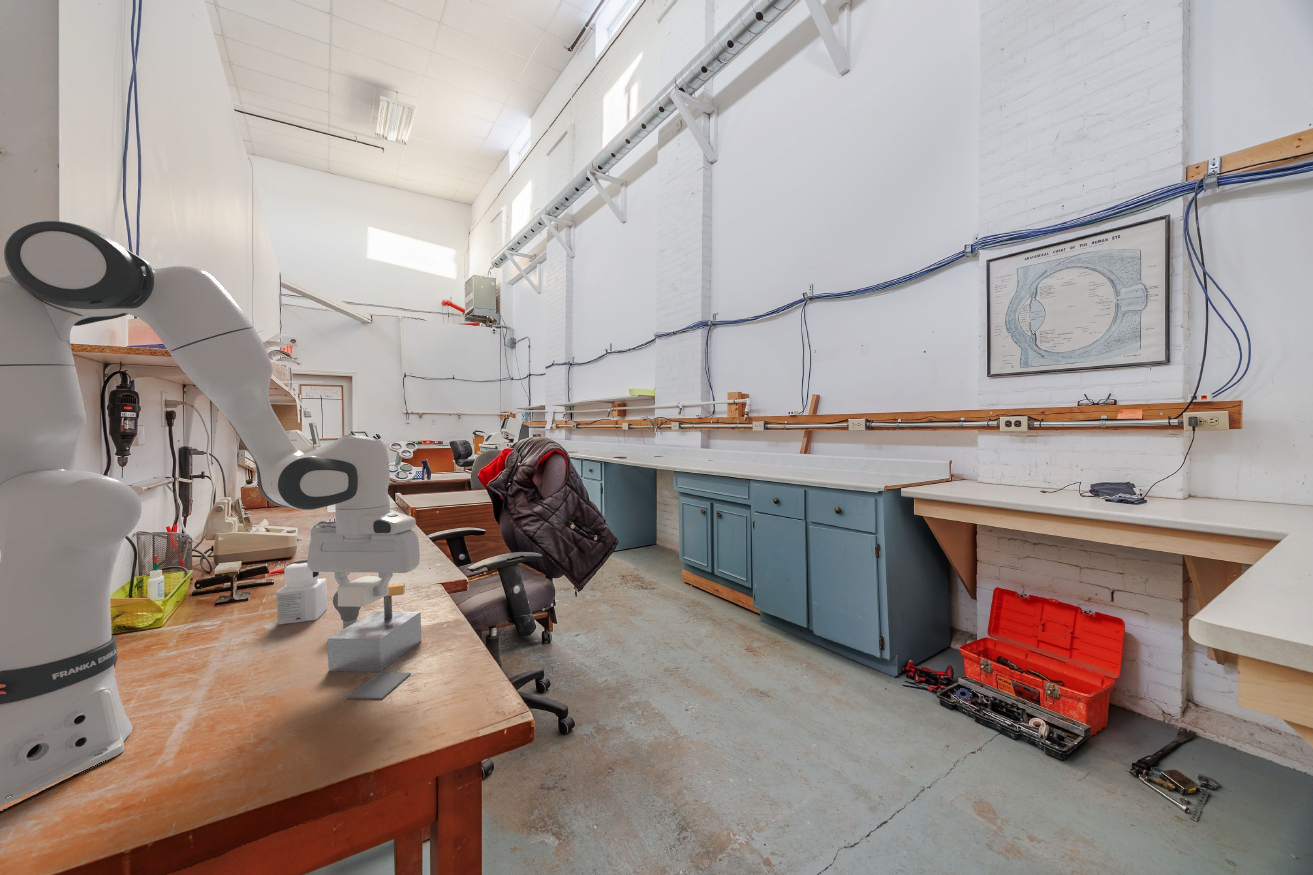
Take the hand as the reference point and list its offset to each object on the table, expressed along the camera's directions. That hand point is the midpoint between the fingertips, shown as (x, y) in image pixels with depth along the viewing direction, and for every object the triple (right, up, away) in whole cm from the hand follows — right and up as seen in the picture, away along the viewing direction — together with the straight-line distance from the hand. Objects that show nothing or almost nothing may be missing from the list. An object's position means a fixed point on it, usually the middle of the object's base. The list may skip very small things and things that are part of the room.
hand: (364, 595), depth 91 cm
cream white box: (0, -1, 0) cm, 1 cm away
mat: (+8, -13, -8) cm, 17 cm away
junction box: (+1, -13, +3) cm, 13 cm away
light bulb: (-12, -13, +15) cm, 23 cm away
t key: (+1, -7, +7) cm, 9 cm away
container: (-29, -13, +24) cm, 39 cm away
